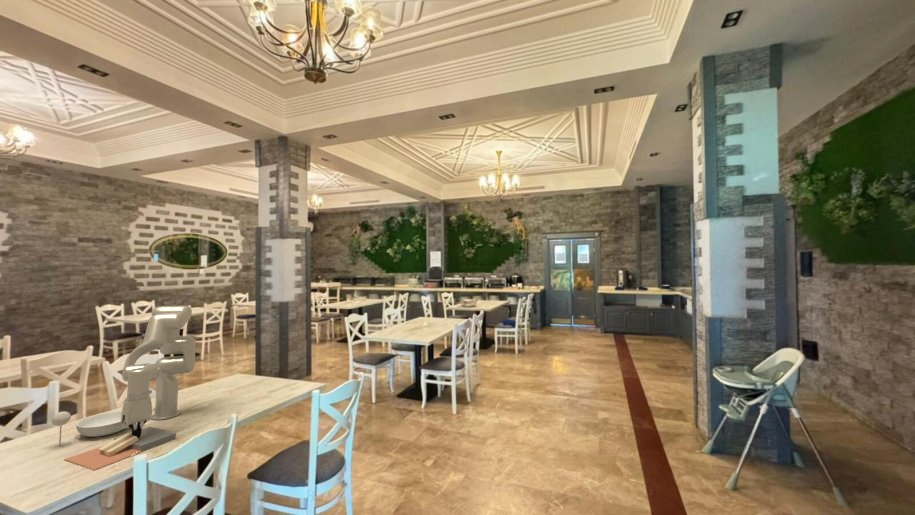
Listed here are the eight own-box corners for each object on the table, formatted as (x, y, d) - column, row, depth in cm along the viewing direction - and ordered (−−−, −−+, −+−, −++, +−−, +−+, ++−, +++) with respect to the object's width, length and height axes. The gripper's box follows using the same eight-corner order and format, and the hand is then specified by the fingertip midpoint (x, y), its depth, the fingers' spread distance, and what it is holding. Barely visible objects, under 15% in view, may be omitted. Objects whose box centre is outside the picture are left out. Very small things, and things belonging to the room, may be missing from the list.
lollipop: (72, 444, 165) (74, 410, 166) (54, 450, 159) (56, 415, 160) (64, 442, 167) (66, 408, 168) (46, 447, 161) (48, 413, 162)
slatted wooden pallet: (99, 453, 156) (98, 449, 155) (127, 437, 165) (126, 433, 164) (110, 456, 153) (109, 452, 152) (138, 440, 162) (136, 436, 162)
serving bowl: (66, 445, 163) (66, 430, 164) (86, 428, 182) (87, 414, 182) (126, 436, 173) (127, 421, 173) (140, 421, 192) (140, 407, 192)
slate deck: (113, 444, 165) (114, 438, 165) (149, 431, 178) (149, 426, 178) (140, 451, 158) (141, 445, 158) (175, 438, 171) (176, 433, 171)
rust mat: (64, 460, 151) (64, 459, 151) (112, 443, 165) (112, 442, 165) (94, 470, 142) (94, 469, 142) (142, 452, 157) (142, 451, 157)
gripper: (151, 390, 174) (150, 429, 173) (112, 400, 160) (110, 443, 159) (161, 392, 171) (160, 432, 170) (123, 402, 157) (121, 446, 156)
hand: (136, 437), depth 165 cm, fingers closed
